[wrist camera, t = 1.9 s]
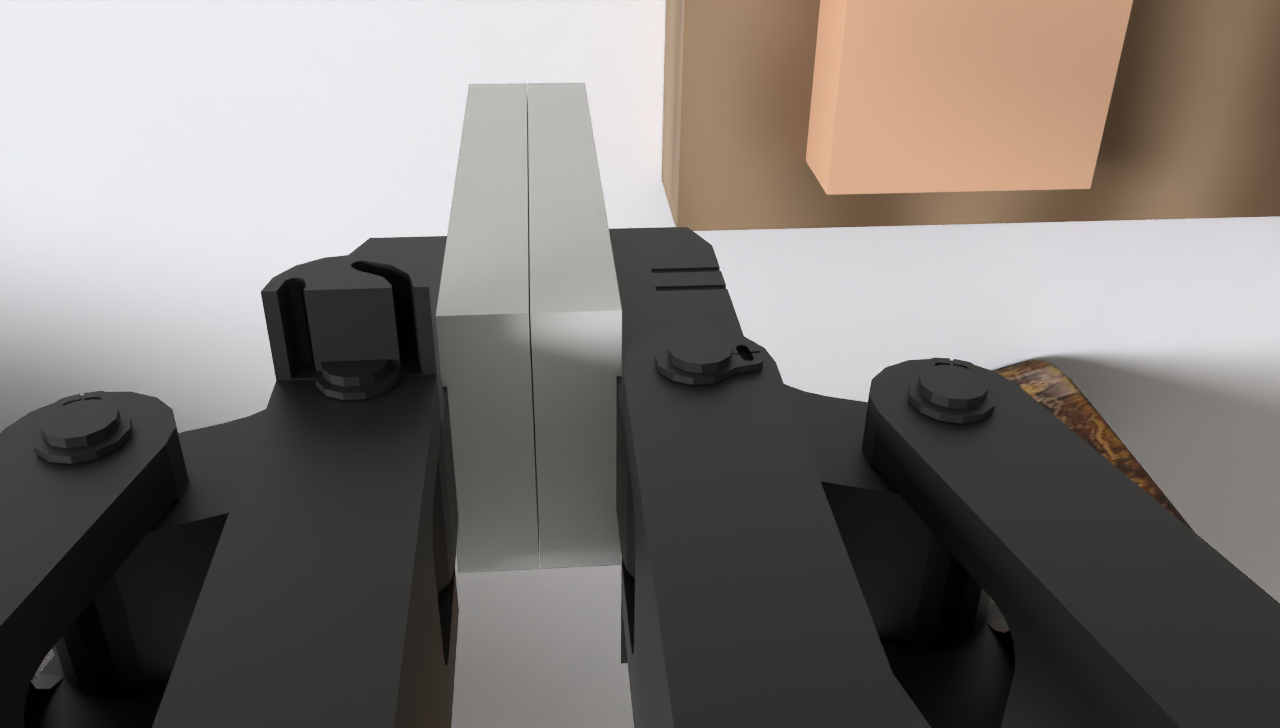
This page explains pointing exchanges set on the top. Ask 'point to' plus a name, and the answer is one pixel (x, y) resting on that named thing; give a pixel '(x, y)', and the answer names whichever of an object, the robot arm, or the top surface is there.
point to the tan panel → (1120, 190)
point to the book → (1082, 420)
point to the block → (962, 93)
